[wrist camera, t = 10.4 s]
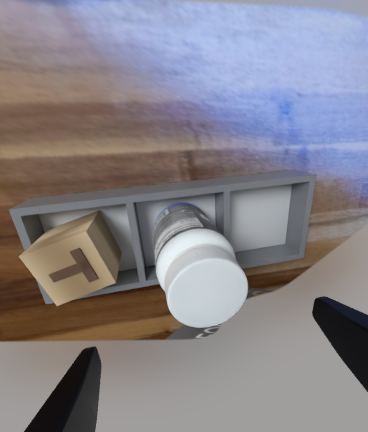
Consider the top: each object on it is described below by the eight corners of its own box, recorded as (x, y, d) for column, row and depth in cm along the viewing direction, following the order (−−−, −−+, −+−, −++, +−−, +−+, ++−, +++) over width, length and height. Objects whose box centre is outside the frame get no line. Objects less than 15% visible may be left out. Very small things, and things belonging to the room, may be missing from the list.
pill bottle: (214, 239, 18) (265, 310, 11) (165, 260, 18) (181, 349, 10) (196, 191, 17) (243, 235, 9) (142, 214, 16) (141, 280, 9)
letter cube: (99, 210, 16) (85, 232, 12) (121, 252, 17) (115, 283, 13) (48, 229, 15) (18, 257, 12) (75, 270, 17) (56, 307, 13)
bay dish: (292, 169, 18) (316, 174, 16) (283, 243, 21) (303, 258, 19) (31, 198, 15) (8, 209, 13) (60, 280, 18) (46, 304, 15)
